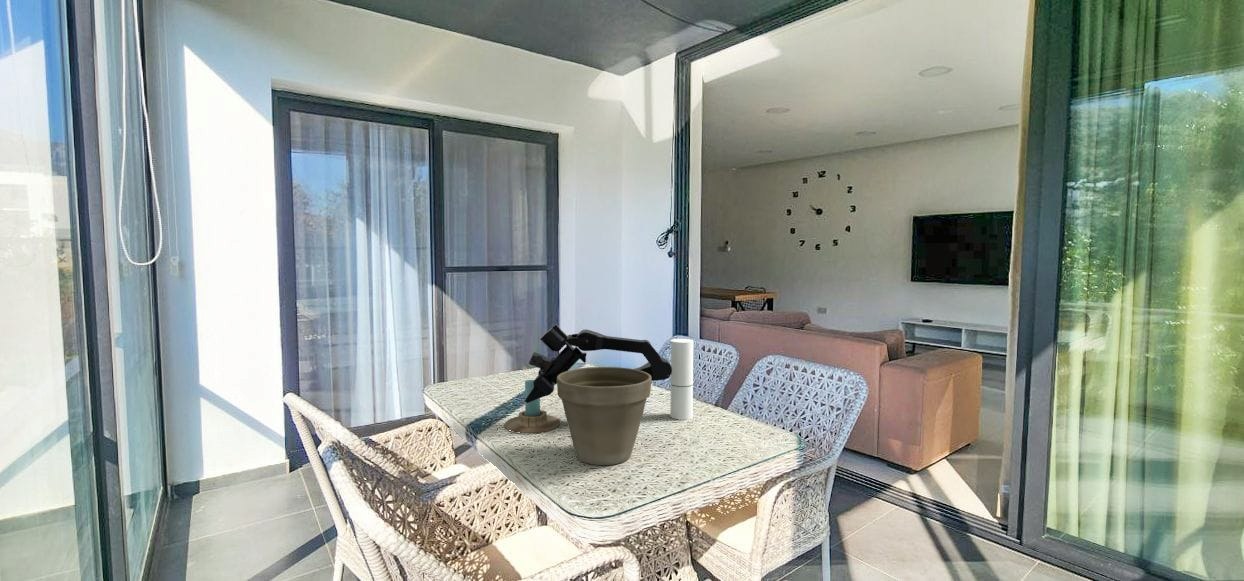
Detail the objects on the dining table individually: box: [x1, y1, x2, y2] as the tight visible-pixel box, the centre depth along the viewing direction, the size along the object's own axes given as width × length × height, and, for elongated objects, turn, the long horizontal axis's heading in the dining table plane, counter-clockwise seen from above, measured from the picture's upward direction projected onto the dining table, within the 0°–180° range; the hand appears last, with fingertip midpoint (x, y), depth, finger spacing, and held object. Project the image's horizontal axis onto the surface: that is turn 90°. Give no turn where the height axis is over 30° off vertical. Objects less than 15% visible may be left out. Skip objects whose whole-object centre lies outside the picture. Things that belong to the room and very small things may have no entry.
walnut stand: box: [504, 409, 561, 434], centre depth 175 cm, size 17×17×4 cm
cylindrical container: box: [669, 338, 694, 421], centre depth 182 cm, size 7×7×25 cm
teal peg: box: [524, 379, 541, 417], centre depth 175 cm, size 4×4×13 cm
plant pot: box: [556, 366, 652, 466], centre depth 149 cm, size 25×25×22 cm
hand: (527, 397), depth 175 cm, fingers open, 9 cm apart
